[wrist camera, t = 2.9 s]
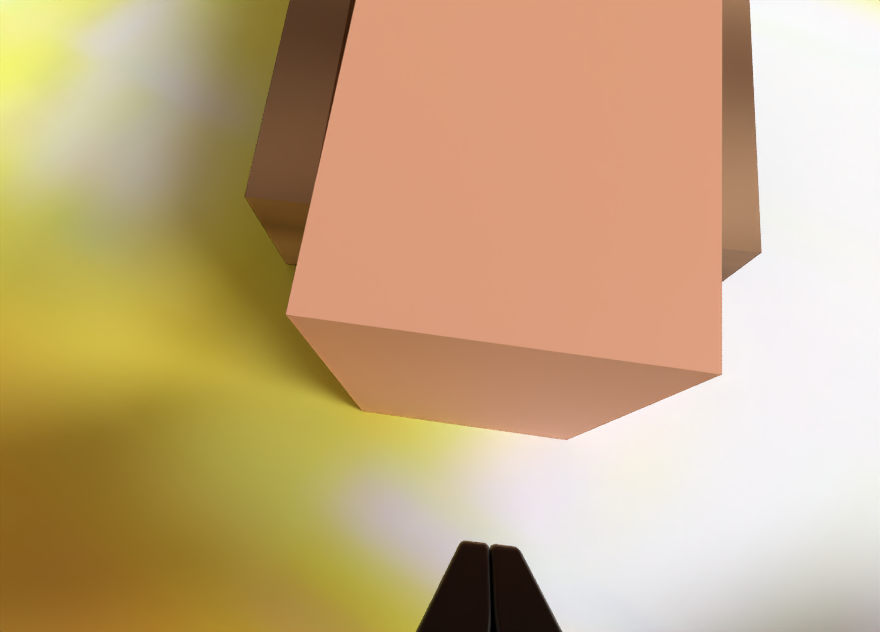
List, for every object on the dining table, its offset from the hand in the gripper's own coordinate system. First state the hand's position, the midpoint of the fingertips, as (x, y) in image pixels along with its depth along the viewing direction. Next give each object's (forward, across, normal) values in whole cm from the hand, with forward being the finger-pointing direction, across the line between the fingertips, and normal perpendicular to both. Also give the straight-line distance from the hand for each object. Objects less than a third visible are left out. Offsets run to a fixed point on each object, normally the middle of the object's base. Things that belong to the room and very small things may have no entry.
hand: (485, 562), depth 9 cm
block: (+12, 0, -3) cm, 13 cm away
